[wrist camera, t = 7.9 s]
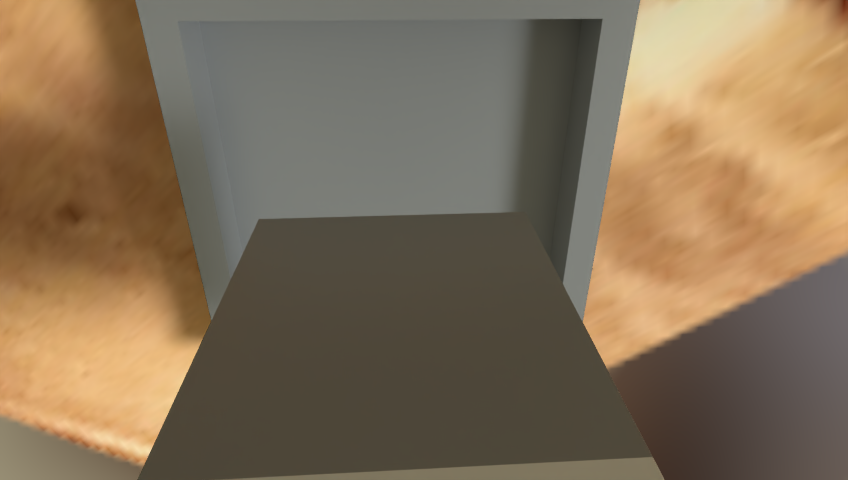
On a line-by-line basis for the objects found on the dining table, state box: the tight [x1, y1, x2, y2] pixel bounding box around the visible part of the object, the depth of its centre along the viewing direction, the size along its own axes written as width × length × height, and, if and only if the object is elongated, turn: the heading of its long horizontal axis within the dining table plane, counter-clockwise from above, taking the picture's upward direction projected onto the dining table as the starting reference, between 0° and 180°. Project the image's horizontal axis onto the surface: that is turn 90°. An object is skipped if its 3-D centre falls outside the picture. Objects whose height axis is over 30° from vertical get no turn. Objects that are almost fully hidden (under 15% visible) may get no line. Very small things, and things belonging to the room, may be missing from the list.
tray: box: [135, 0, 640, 322], centre depth 19 cm, size 14×14×2 cm
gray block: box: [138, 212, 664, 480], centre depth 9 cm, size 5×7×6 cm
